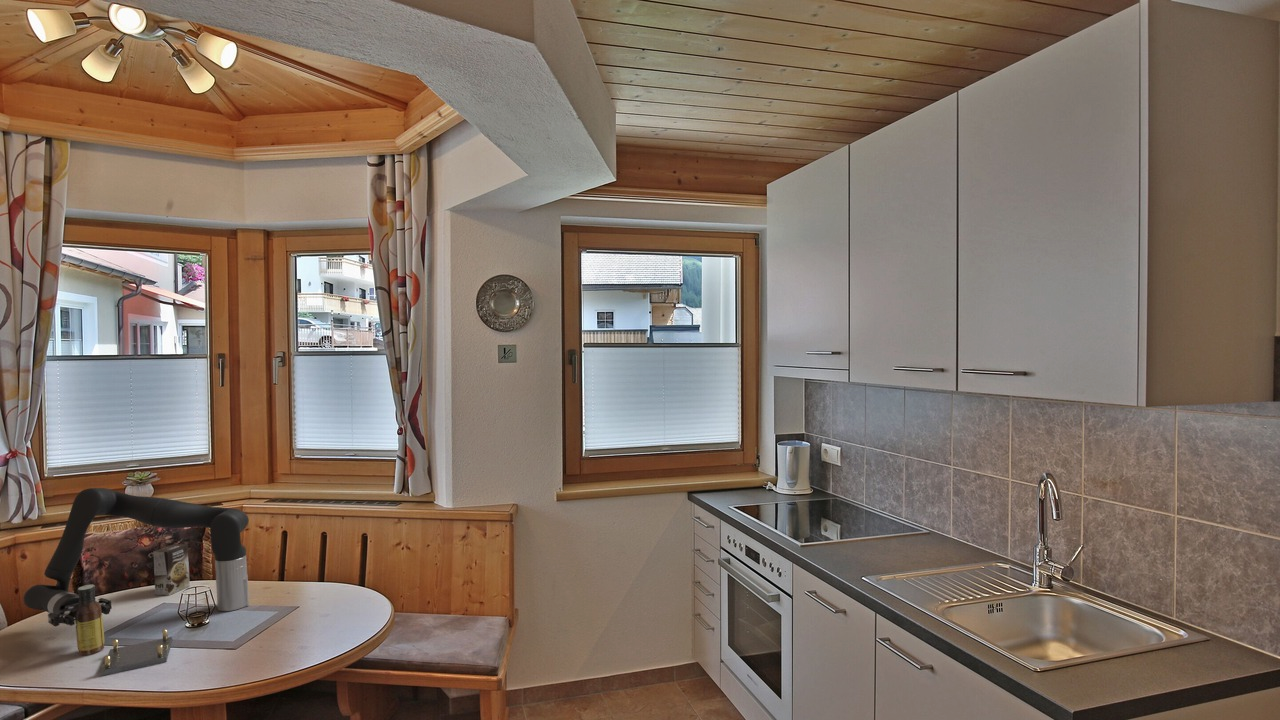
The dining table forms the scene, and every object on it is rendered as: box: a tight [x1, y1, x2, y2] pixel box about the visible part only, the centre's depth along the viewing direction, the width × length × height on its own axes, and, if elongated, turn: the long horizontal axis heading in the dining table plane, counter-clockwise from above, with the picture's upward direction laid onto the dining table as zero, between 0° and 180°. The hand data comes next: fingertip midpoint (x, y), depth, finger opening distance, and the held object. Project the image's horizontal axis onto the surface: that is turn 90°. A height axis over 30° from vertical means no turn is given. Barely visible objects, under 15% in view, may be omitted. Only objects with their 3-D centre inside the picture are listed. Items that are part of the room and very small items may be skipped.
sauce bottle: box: [75, 584, 105, 656], centre depth 201 cm, size 6×6×20 cm
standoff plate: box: [99, 628, 173, 677], centre depth 197 cm, size 15×15×4 cm
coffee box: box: [152, 543, 191, 596], centre depth 249 cm, size 9×6×16 cm
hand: (90, 616), depth 201 cm, fingers open, 8 cm apart
